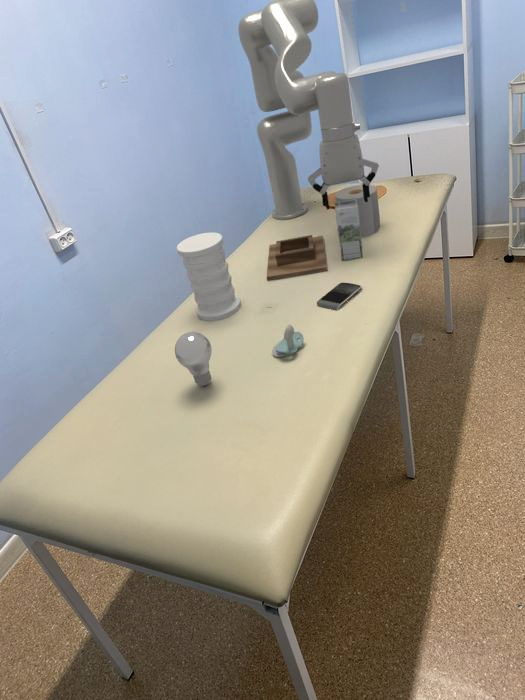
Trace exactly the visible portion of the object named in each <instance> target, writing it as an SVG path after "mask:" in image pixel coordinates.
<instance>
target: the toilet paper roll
mask: <svg viewBox="0 0 525 700" xmlns="http://www.w3.org/2000/svg"><path fill="white" fill-rule="evenodd" d="M369 191H370V197H368V202H365V201H364V197H363V188H362V184H357V185H352V186H347V187H345V188H342V189H340V190H338V191H337V192H336V193H335V194H334V195H335V196H334V197H335V203H336V202H342V201H348V200H353V199H356V201H357V205H358V211H359V221H360V232H361V239H362V238H365V237H369V236H372V235H374V234H376V233H377V232H379V230H380V228H381V215H380V208H379V205H380V204H379V199H378V197H379V196H378V191H377V186H374V185H371V184H370V185H369Z"/></svg>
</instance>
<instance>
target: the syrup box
mask: <svg viewBox="0 0 525 700" xmlns="http://www.w3.org/2000/svg"><path fill="white" fill-rule="evenodd" d="M334 209H335V210H334V211H335V216H336V217H335V219H336V227H337V235H338V243H339V249H340V258H341V262H342V261H350V260H357V259H363V257H364V255H363V254H364V253H363V244H362V238H361V232H360V221H359V211H358V205H357V201H356V199H353V200H348V201H342V202H336V201H335V202H334Z"/></svg>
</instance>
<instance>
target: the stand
mask: <svg viewBox="0 0 525 700" xmlns="http://www.w3.org/2000/svg"><path fill="white" fill-rule="evenodd" d="M323 237H324V236H323V235H318V236H313V234H309V235H304V236H299V237H293V238H288V239H282V240H276V241H275V243H274V244H273V243H272V244H269V248H268V259H267V268H266V281H267V282H270V281H276V280H282V279H288V278H289V279H290V278H295V277H300V276H306V275H312V274H319V273H324V272H325V273H326V272H328V263H327V258H326V252H325V251H326V250H325V243H324V238H323Z"/></svg>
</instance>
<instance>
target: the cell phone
mask: <svg viewBox="0 0 525 700" xmlns="http://www.w3.org/2000/svg"><path fill="white" fill-rule="evenodd" d="M362 287H363V286H362V285H361V284H356V283H352V282H351V283H350V282H339V284H336V286H334V287H333V288H332V289H331V290H329V291H328V292H327V293H325V294H324V295H323V296H322V297H321V298H320V299H318V300H317V301H316V306H317V307H318V308H322V309H327V310H330V309H331V311H334V310H335V311H338V310H340V309H341V308H342V307H344V304H345V303H346V302H347V301H348V302H350V301H351V298H352V297H353V298H354V297H356V295H357V294H359V293H360V292H361V291H362V289H363V288H362ZM360 290H361V291H360ZM359 291H360V292H359ZM358 292H359V293H358ZM353 298H352V299H353ZM348 302H347V303H348ZM347 303H346V304H347ZM346 304H345V305H346ZM339 308H340V309H339ZM337 309H338V310H337Z"/></svg>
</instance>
